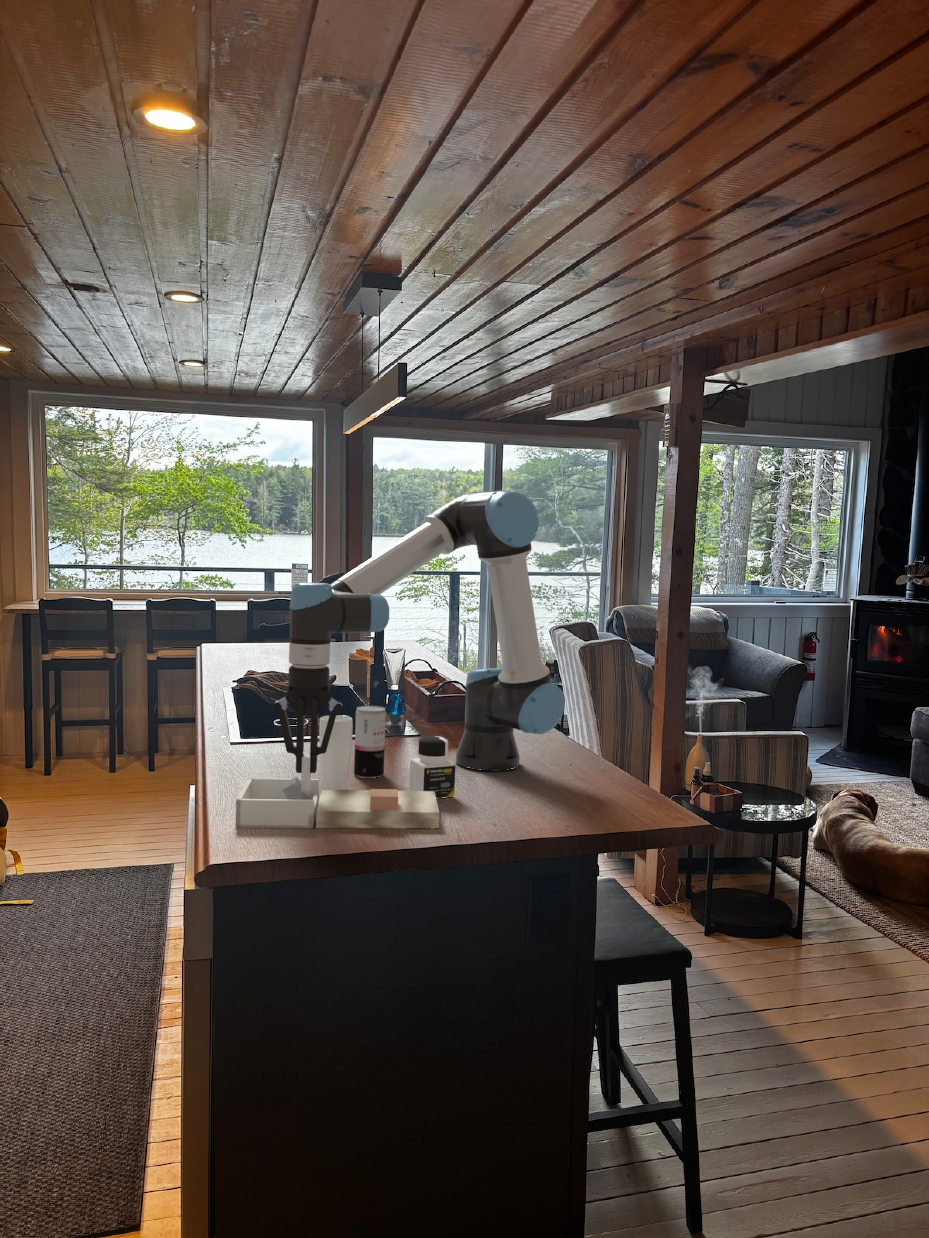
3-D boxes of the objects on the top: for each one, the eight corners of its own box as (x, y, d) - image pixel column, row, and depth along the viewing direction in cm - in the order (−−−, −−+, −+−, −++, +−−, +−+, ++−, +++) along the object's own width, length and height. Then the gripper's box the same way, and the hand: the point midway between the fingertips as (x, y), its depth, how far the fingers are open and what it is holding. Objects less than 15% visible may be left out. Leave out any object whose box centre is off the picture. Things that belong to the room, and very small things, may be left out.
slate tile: (297, 776, 167) (285, 782, 167) (294, 783, 162) (282, 789, 162) (309, 799, 168) (297, 805, 168) (306, 806, 163) (294, 812, 163)
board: (433, 806, 172) (434, 791, 172) (438, 828, 158) (439, 812, 158) (321, 804, 170) (321, 789, 170) (315, 827, 156) (316, 811, 156)
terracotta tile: (397, 802, 163) (397, 789, 163) (397, 810, 159) (398, 796, 158) (370, 802, 163) (370, 788, 163) (370, 810, 158) (370, 796, 158)
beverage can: (347, 774, 194) (349, 707, 193) (370, 770, 199) (372, 704, 197) (367, 780, 189) (369, 712, 188) (389, 775, 194) (392, 709, 193)
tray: (318, 804, 171) (319, 778, 170) (312, 828, 156) (313, 800, 155) (247, 803, 169) (248, 777, 169) (235, 827, 154) (236, 799, 154)
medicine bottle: (423, 801, 176) (425, 742, 175) (408, 792, 182) (410, 735, 181) (454, 798, 179) (457, 740, 178) (439, 789, 185) (441, 733, 184)
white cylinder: (356, 787, 183) (358, 716, 182) (341, 795, 177) (343, 722, 176) (327, 783, 186) (329, 713, 184) (311, 791, 179) (313, 719, 178)
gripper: (271, 667, 159) (268, 794, 161) (343, 669, 160) (339, 795, 162) (276, 661, 166) (272, 783, 168) (345, 663, 168) (341, 784, 169)
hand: (305, 789), depth 165 cm, fingers closed
